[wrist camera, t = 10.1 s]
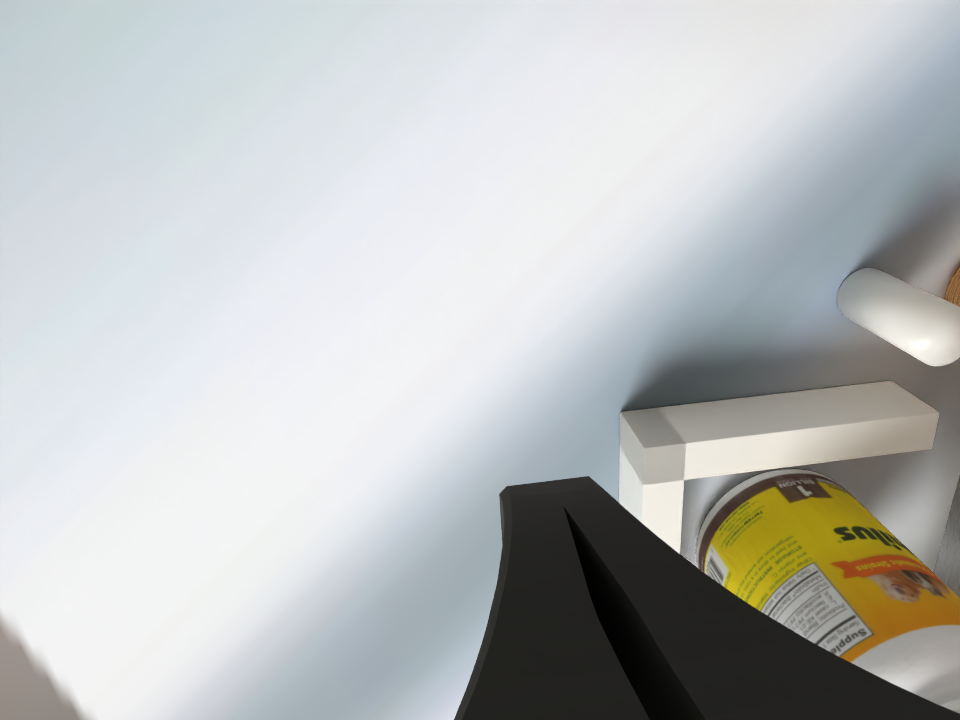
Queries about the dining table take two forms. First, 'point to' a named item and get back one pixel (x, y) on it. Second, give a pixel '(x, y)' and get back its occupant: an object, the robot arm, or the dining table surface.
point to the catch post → (902, 315)
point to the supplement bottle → (835, 579)
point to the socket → (759, 441)
